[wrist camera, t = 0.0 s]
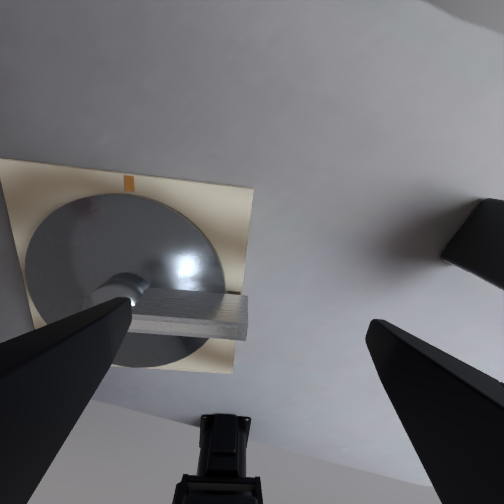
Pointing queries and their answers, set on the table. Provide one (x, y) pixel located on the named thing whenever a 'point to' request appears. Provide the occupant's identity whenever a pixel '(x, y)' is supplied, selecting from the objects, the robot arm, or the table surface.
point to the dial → (134, 275)
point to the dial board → (158, 188)
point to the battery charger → (481, 243)
